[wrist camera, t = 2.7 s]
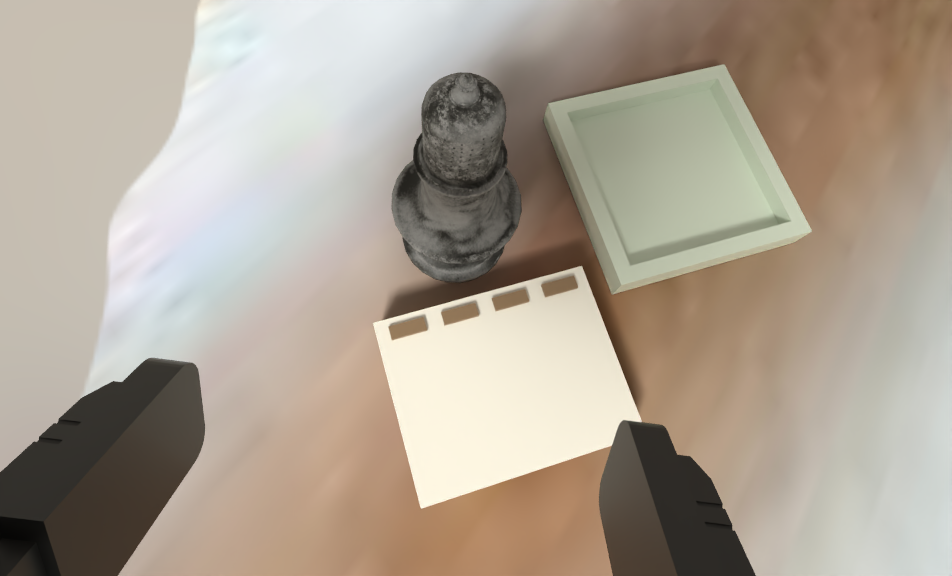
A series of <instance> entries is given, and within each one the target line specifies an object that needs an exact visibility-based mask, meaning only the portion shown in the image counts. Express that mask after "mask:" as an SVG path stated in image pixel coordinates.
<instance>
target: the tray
mask: <svg viewBox="0 0 952 576" xmlns="http://www.w3.org/2000/svg"><path fill="white" fill-rule="evenodd" d="M543 122H544V124H545V127H546V129H547V132H548V134H549V137H550V139H551V142H552V144H553V147H554V149H555V152H556V154H557V157H558V159H559V162H560V165H561V167H562V170H563V172H564V175H565V177H566V180H567V182H568V185H569V187H570V190H571V192H572V195H573V197H574V200H575V202H576V205H577V207H578V210H579V213H580V215H581V218H582V220H583V223H584V225H585V228H586V230H587V233H588V235H589V238H590V240H591V243H592V245H593V248H594V250H595V253H596V255H597V258H598V261H599V263H600V266H601V268H602V271H603V273H604V276H605V278H606V281H607V283H608V286H609V288H610V291H611V293H612V294H616V293H619V292H623V291H626V290H630V289H633V288H637V287H640V286H644V285H647V284H651V283H654V282H658V281H661V280H665V279H668V278H672V277H675V276H679V275H682V274H686V273H689V272H693V271H696V270H700V269H703V268H707V267H710V266H714V265H717V264H721V263H724V262H728V261H731V260H735V259H738V258H742V257H746V256H749V255H753V254H756V253H760V252H763V251H767V250H770V249H774V248H777V247H781V246H784V245H788V244H791V243H794V242H796V241H797V240H799V239H801V238H802V237H804V236H805V235H807V234H809V233H810V232H812V230H811V228H810V226H809V224H808V222H807V220H806V218H805V217H804V215H803V213H802V211H801V209H800V207H799V205H798V203H797V201H796V199H795V198H794V196H793V194H792V192H791V190H790V188H789V186H788V184H787V182H786V180H785V179H784V177H783V175H782V173H781V171H780V169H779V167H778V165H777V163H776V161H775V160H774V158H773V156H772V154H771V152H770V150H769V148H768V146H767V144H766V142H765V141H764V139H763V137H762V135H761V133H760V131H759V129H758V127H757V125H756V123H755V122H754V120H753V118H752V116H751V114H750V112H749V110H748V108H747V106H746V104H745V103H744V101H743V99H742V97H741V95H740V93H739V91H738V89H737V87H736V85H735V84H734V82H733V80H732V78H731V76H730V74H729V72H728V70H727V68H726V66H725V65H724V64H723V65H718V66H714V67H709V68H705V69H700V70H696V71H691V72H687V73H682V74H678V75H673V76H669V77H664V78H660V79H655V80H651V81H646V82H642V83H637V84H633V85H628V86H624V87H619V88H615V89H610V90H606V91H601V92H597V93H592V94H588V95H583V96H579V97H574V98H570V99H565V100H561V101H556V102H552V103H548V105H547V109H546V112H545V115H544V119H543Z"/></svg>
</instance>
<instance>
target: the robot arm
mask: <svg viewBox="0 0 952 576" xmlns="http://www.w3.org/2000/svg"><path fill="white" fill-rule="evenodd" d="M204 435H205V423H204V414H203V405H202V397H201V388H200V380H199V372H198V369H197V367H196V365H195V364H193V363H189V362H181V361H174V360H166V359H158V358H149V359H147V360H145V361H144V362H143V363H141V364H140V365H139V366H138V367H137V368H136V369H135V370H134V371H133V372H132V373H131V374H130V375H129V376H128V377H127V378H126V379H125V380H124V381H123V382H115V381H113V382H111V383H109V384H107V385H105V386H103V387H101V388H99V389H98V390H96V391H94V392H92V393H90V394H88V395H86V396H84V397H82V398H81V399H80V400H79V401H78V402H77V403H76V404H75V405H73V406H72V407H71V408H70V409H69V410H68V411H67V412H66V413H65V414H64V415H63V416H61V417H60V418H59V421H58V423H57V424H53V425H52V426H50V427H49V428H48V429H47V430H46V431H45V432H44V433H43V434H42V435H41V436H40V437H39V440H38V442H33V443H32V444H31V445H30V446H29V447H28V448H27V449H25V450H24V451H23V452H22V453H21V454H20V455H19V456H18V457H17V458H16V459H14V460H13V461H12V462H11V463H10V464H9V465H8V466H7V467H6V468H5V469H4V470H2V471H1V472H0V576H118V574H119V573H120V571H121V570H122V568H123V567H124V565H125V564H126V563H127V561H128V560H129V558H130V557H131V555H132V554H133V552H134V551H135V549H136V548H137V546H138V545H139V543H140V542H141V540H142V539H143V538H144V536H145V535H146V533H147V532H148V530H149V529H150V527H151V526H152V524H153V523H154V521H155V520H156V518H157V517H158V516H159V514H160V513H161V511H162V510H163V508H164V507H165V505H166V504H167V502H168V501H169V499H170V498H171V496H172V495H173V493H174V492H175V491H176V489H177V488H178V486H179V485H180V483H181V482H182V480H183V479H184V477H185V476H186V474H187V473H188V471H189V470H190V468H191V467H192V466H193V464H194V463H195V461H196V459H197V457H198V455H199V453H200V451H201V448H202V445H203V441H204ZM722 505H723V504H722V502H721V499H720V497H719V495H718V493H717V491H716V489H715V486H714V484H713V482H712V480H711V478H710V477H709V476H708V475H707V474H706V473H705V472H704V471H703V470H702V469H701V468H700V466H699V465H698V464H697V463H696V462H695V461H694V460H693V459H692V458H691V457H690V456H683V455H677V453H676V451H675V449H674V446H673V444H672V441H671V439H670V436H669V434H668V432H667V429H666V428H665V427H664V426H663V425H659V424H651V423H643V422H636V421H628V420H623V421H621V423H620V424H619V426H618V429H617V432H616V435H615V438H614V441H613V444H612V447H611V450H610V453H609V457H608V460H607V463H606V466H605V469H604V472H603V475H602V479H601V483H600V491H599V507H600V514H601V519H602V524H603V529H604V534H605V539H606V544H607V548H608V553H609V558H610V563H611V568H612V573H613V576H756V575H755V573H754V571H753V569H752V567H751V564H750V562H749V560H748V558H747V556H746V554H745V551H744V549H743V547H742V545H741V543H740V541H739V538H738V536H737V534H736V532H735V531H733V530H732V523H731V521H730V519H729V517H728V515H727V512H726V510H725V509H723V508H722Z"/></svg>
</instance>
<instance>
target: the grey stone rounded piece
mask: <svg viewBox="0 0 952 576" xmlns="http://www.w3.org/2000/svg"><path fill="white" fill-rule="evenodd" d="M505 121H506V106H505V102H504V99H503V96H502V94H501V93H500V91H499V90H498V88H497V87H496V86H495V85H493V84H492V83H491V82H490V81H489V80H487V79H485V78H483V77H481V76H479V75H476V74H472V73H455V74H450V75H448V76H446V77H444V78H441V79H439V80H438V81H437V82H435V83H434V84H433V85H432V86H431V87H430V88H429V90H428V91H427V92H426V95H425V98H424V101H423V104H422V133H421V135H420V136H419V138H418V139H417V141H416V144H415V147H414V154H413V160H412V161H411V162H410V163H409V164H408V165H406V167H405V168H404V169H403V171H402V172H401V174H400V175H399V177H398V178H397V180H396V183H395V186H394V189H393V192H392V213H393V216H394V220H395V224H396V226H397V228H398V230H399V231H400V233H401V235H402V236H403V242H404V246H405V249H406V252H407V254H408V256H409V257H410V259H411V261H412V263H413V264H414V265H415V266H416V267H418V268H419V269H420V270H421V271H422V272H423V273H425V274H427V275H428V276H430V277H432V278H434V279H437V280H441V281H445V282H465V281H469V280H474V279H476V278H478V277H480V276H482V275H483V274H485V273H487V272H488V271H489V270H490V269H491V268H492V267H493V266H494V265H495V264H496V263H497V261H498V260H499V258H500V256H501V255H502V253H503V249H504V245H505V244H506V243H507V242H508V241H509V240H510V239H511V237H512V235H513V234H514V232H515V230H516V228H517V227H518V223H519V219H520V215H521V195H520V192H519V189H518V186H517V183H516V181H515V179H514V178H513V176H512V175H511V173H510V172H509V170H508V169H507V168H506V166H507V150H506V147H505V144H504V141H503V140H502V136H503V131H504V126H505Z"/></svg>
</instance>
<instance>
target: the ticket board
mask: <svg viewBox="0 0 952 576" xmlns="http://www.w3.org/2000/svg"><path fill="white" fill-rule="evenodd" d="M373 325H374V329H375V332H376V336H377V340H378V344H379V348H380V352H381V356H382V360H383V363H384V367H385V371H386V375H387V379H388V383H389V387H390V391H391V394H392V398H393V402H394V406H395V410H396V414H397V418H398V422H399V425H400V429H401V433H402V437H403V441H404V445H405V449H406V453H407V456H408V460H409V464H410V468H411V472H412V476H413V480H414V484H415V487H416V491H417V495H418V499H419V503H420V507H421V508H424V507H427V506H431V505H434V504H437V503H440V502H443V501H446V500H449V499H452V498H455V497H458V496H461V495H464V494H467V493H470V492H473V491H476V490H479V489H482V488H485V487H488V486H491V485H494V484H497V483H500V482H503V481H506V480H509V479H512V478H515V477H518V476H521V475H524V474H527V473H530V472H533V471H536V470H539V469H542V468H545V467H548V466H551V465H554V464H557V463H560V462H563V461H566V460H569V459H572V458H575V457H578V456H581V455H584V454H587V453H590V452H594V451H597V450H600V449H603V448H606V447H609V446H612V444H613V441H614V438H615V435H616V432H617V429H618V426H619V424H620V423H621V421H623V420H628V421H636V422H642V421H641V418H640V416H639V413H638V411H637V408H636V405H635V403H634V400H633V398H632V395H631V392H630V390H629V387H628V385H627V382H626V379H625V377H624V374H623V372H622V369H621V366H620V364H619V361H618V359H617V356H616V353H615V351H614V348H613V346H612V343H611V340H610V338H609V335H608V333H607V330H606V327H605V325H604V322H603V320H602V317H601V314H600V312H599V309H598V307H597V304H596V301H595V299H594V296H593V294H592V291H591V288H590V286H589V283H588V281H587V278H586V275H585V273H584V270H583V268H582V266H579V267H576V268H572V269H569V270H565V271H561V272H558V273H554V274H550V275H547V276H543V277H539V278H536V279H532V280H528V281H525V282H521V283H517V284H514V285H510V286H506V287H503V288H499V289H495V290H492V291H488V292H484V293H481V294H477V295H473V296H470V297H466V298H463V299H459V300H455V301H452V302H448V303H444V304H441V305H437V306H433V307H430V308H426V309H422V310H419V311H415V312H411V313H408V314H404V315H400V316H397V317H393V318H389V319H386V320H382V321H378V322H375V323H373Z"/></svg>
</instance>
